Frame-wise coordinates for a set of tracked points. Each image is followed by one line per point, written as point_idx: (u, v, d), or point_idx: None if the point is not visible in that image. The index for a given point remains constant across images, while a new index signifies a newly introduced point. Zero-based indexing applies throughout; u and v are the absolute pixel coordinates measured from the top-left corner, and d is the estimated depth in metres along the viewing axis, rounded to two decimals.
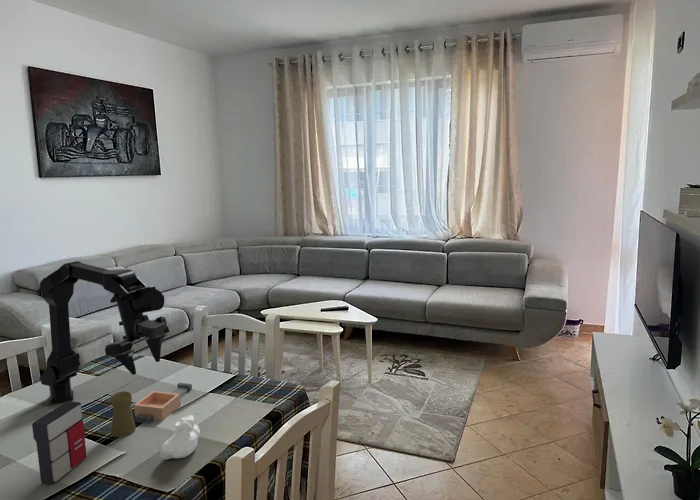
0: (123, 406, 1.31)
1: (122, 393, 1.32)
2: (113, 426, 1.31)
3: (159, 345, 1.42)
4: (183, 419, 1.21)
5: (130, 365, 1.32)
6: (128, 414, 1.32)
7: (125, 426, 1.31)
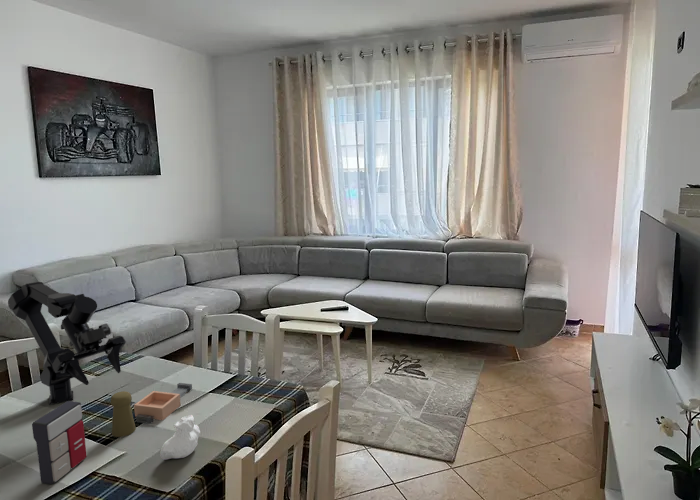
0: (123, 406, 1.31)
1: (122, 393, 1.32)
2: (113, 426, 1.31)
3: (116, 355, 1.41)
4: (183, 419, 1.21)
5: (79, 375, 1.32)
6: (128, 414, 1.32)
7: (125, 426, 1.31)
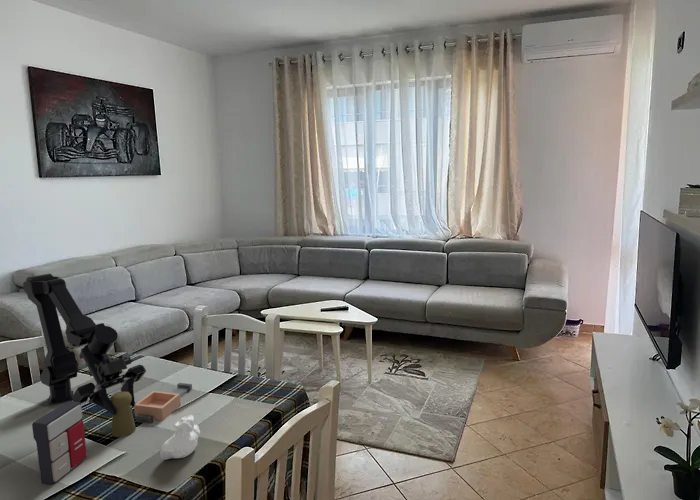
0: (123, 406, 1.30)
1: (122, 393, 1.32)
2: (113, 426, 1.31)
3: (130, 388, 1.35)
4: (183, 419, 1.21)
5: (107, 405, 1.29)
6: (128, 414, 1.32)
7: (125, 426, 1.31)
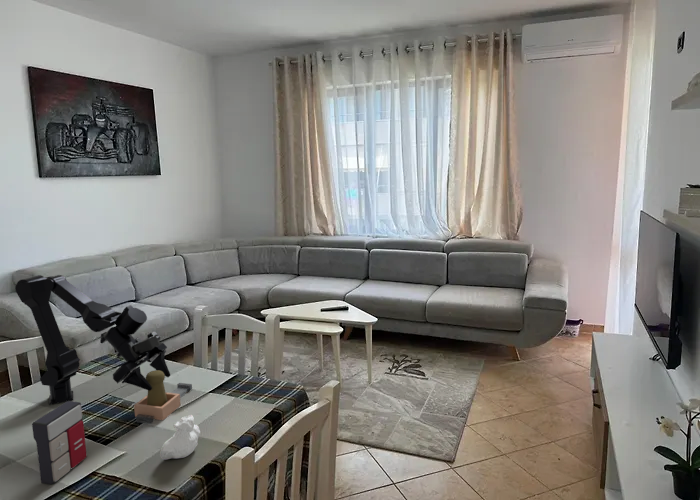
0: (160, 383, 1.42)
1: (156, 371, 1.43)
2: (150, 403, 1.41)
3: (163, 361, 1.48)
4: (183, 419, 1.21)
5: (143, 382, 1.37)
6: (163, 390, 1.43)
7: (162, 400, 1.43)
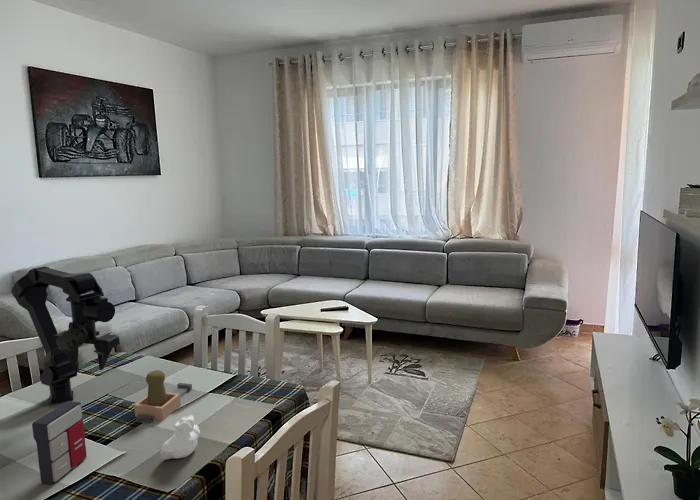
0: (160, 383, 1.42)
1: (156, 371, 1.43)
2: (150, 403, 1.41)
3: (99, 356, 1.40)
4: (183, 419, 1.21)
5: None
6: (164, 390, 1.43)
7: (163, 401, 1.43)
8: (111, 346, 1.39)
